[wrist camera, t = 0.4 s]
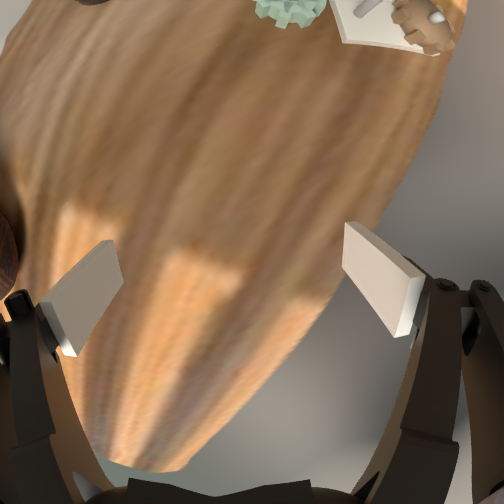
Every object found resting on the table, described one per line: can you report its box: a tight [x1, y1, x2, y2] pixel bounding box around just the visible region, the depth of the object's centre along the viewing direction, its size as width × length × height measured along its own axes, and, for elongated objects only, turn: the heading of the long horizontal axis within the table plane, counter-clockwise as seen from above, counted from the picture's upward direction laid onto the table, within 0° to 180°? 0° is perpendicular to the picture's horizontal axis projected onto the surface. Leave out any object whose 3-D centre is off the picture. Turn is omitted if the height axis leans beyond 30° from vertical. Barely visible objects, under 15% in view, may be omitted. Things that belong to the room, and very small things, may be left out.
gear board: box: [329, 0, 456, 56], centre depth 24 cm, size 12×23×9 cm, turn 100°
